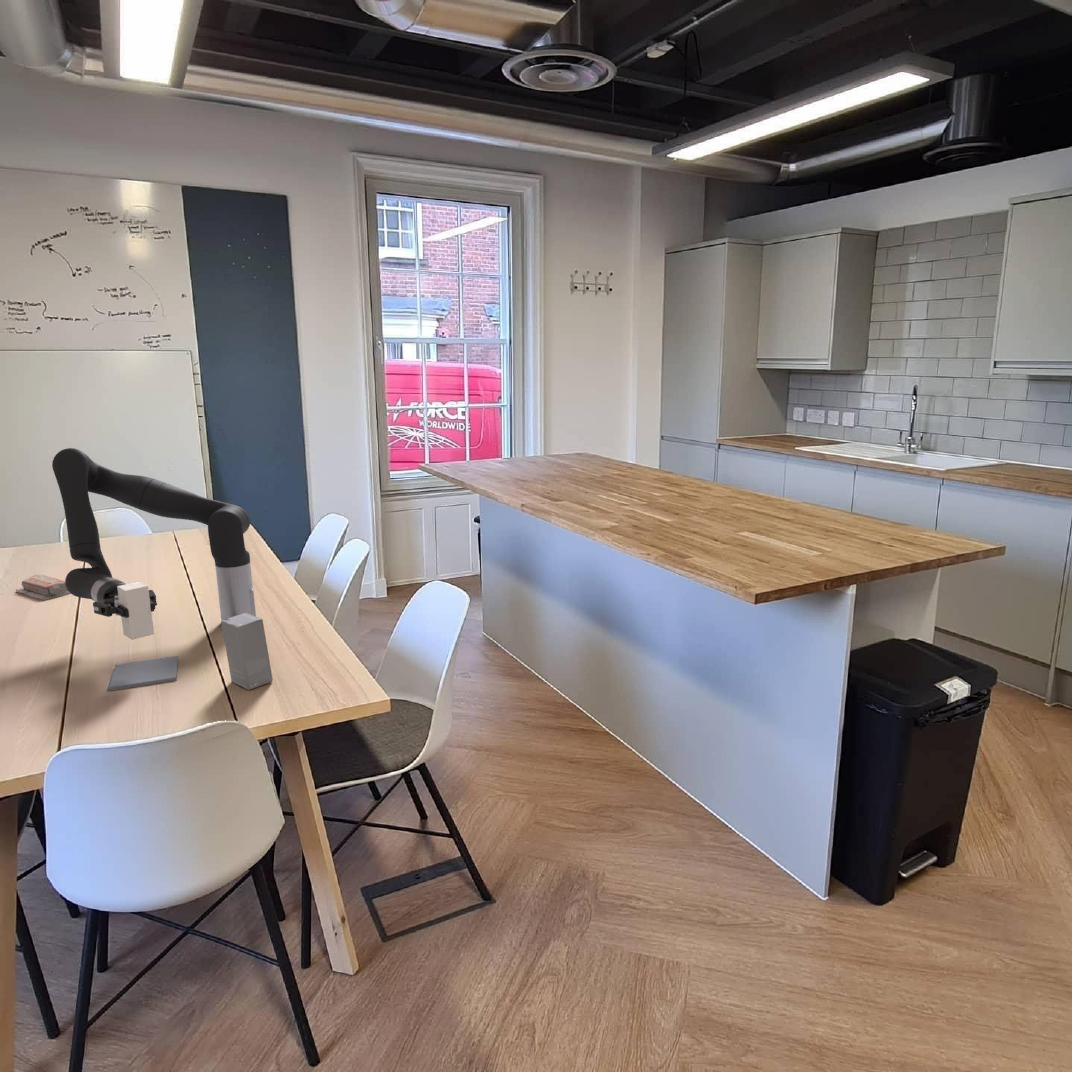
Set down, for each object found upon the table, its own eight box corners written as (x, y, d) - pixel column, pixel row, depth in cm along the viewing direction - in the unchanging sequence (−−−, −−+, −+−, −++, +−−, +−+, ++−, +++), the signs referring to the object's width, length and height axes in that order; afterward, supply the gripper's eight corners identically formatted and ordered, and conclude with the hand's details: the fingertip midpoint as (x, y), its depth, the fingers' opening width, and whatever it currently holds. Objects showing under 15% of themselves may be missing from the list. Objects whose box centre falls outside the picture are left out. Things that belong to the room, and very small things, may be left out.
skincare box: (273, 682, 178) (267, 618, 174) (244, 692, 173) (237, 626, 169) (255, 672, 183) (248, 610, 179) (226, 682, 178) (219, 618, 174)
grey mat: (178, 658, 192) (178, 655, 191) (176, 680, 179) (175, 677, 179) (115, 667, 186) (115, 664, 186) (108, 690, 174) (108, 687, 174)
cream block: (145, 629, 184) (139, 581, 181) (154, 634, 180) (148, 585, 178) (123, 634, 180) (117, 586, 177) (131, 640, 177) (125, 590, 174)
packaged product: (74, 579, 244) (41, 587, 236) (77, 593, 245) (44, 602, 237) (45, 571, 254) (13, 578, 245) (48, 584, 255) (15, 592, 247)
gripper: (78, 586, 182) (104, 602, 171) (141, 574, 192) (169, 588, 181) (83, 616, 184) (109, 634, 173) (144, 602, 194) (173, 617, 183)
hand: (139, 610), depth 177 cm, fingers closed on cream block, 5 cm apart
